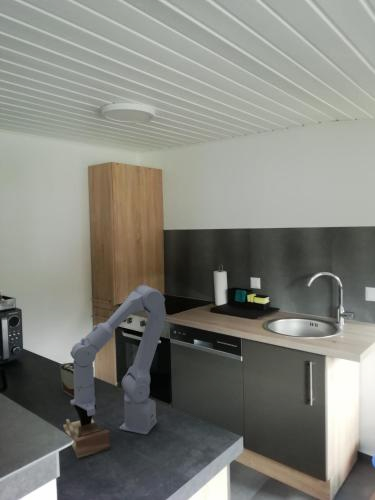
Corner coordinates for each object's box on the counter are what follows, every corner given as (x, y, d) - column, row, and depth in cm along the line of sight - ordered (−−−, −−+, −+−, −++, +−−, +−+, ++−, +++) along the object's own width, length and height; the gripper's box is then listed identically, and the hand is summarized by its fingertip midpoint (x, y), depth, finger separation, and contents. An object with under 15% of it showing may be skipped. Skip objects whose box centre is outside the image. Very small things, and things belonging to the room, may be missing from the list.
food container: (92, 393, 142) (91, 367, 141) (77, 399, 138) (76, 372, 137) (75, 384, 151) (73, 359, 150) (60, 389, 146) (59, 364, 145)
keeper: (78, 440, 110) (78, 426, 110) (95, 435, 113) (95, 422, 112) (83, 449, 106) (82, 435, 106) (100, 443, 108) (100, 430, 108)
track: (63, 427, 119) (62, 412, 119) (91, 419, 124) (91, 404, 123) (77, 458, 103) (77, 441, 103) (109, 448, 108) (109, 431, 107)
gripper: (64, 378, 115) (66, 420, 117) (76, 397, 103) (78, 444, 104) (87, 373, 119) (89, 414, 120) (101, 390, 106) (103, 437, 108)
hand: (85, 428), depth 112 cm, fingers closed
